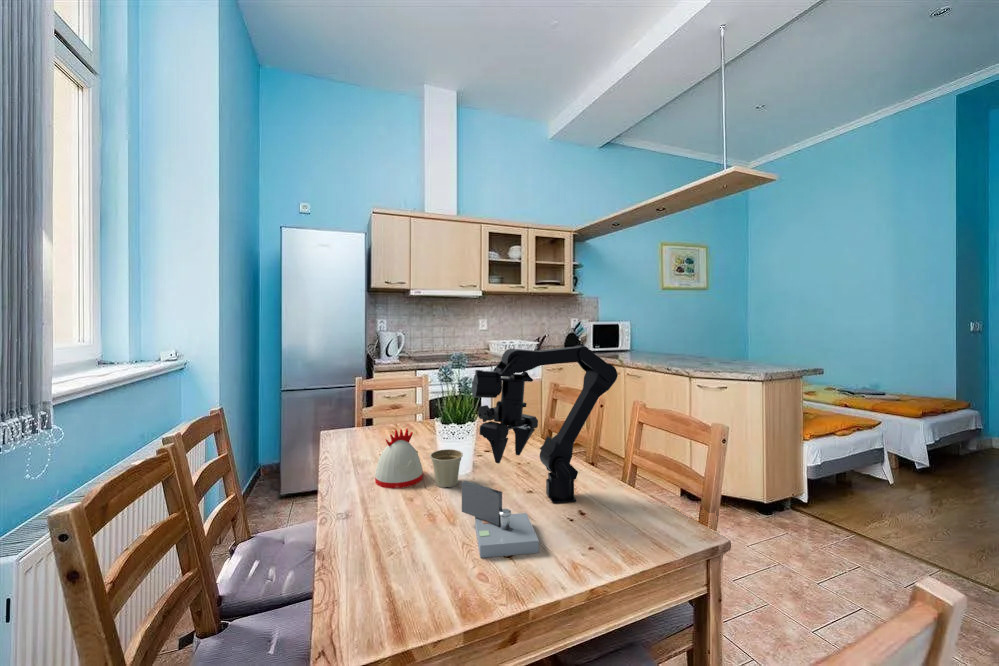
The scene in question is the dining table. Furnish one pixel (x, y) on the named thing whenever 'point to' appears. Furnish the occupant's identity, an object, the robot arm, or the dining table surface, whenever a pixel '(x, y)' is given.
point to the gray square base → (506, 537)
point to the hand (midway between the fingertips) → (507, 458)
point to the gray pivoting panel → (484, 504)
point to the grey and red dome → (399, 463)
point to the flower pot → (446, 466)
